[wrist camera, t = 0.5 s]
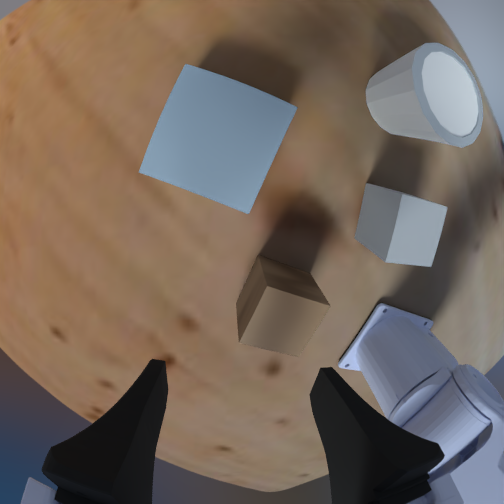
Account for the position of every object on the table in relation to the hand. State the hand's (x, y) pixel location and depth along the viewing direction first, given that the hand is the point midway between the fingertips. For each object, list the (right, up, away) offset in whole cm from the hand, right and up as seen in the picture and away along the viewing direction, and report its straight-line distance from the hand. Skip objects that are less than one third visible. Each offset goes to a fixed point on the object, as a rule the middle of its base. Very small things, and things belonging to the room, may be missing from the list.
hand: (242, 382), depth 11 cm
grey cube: (+11, +9, +9) cm, 17 cm away
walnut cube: (+2, +3, +10) cm, 11 cm away
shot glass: (+12, +18, +6) cm, 22 cm away
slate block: (-2, +14, +6) cm, 15 cm away
